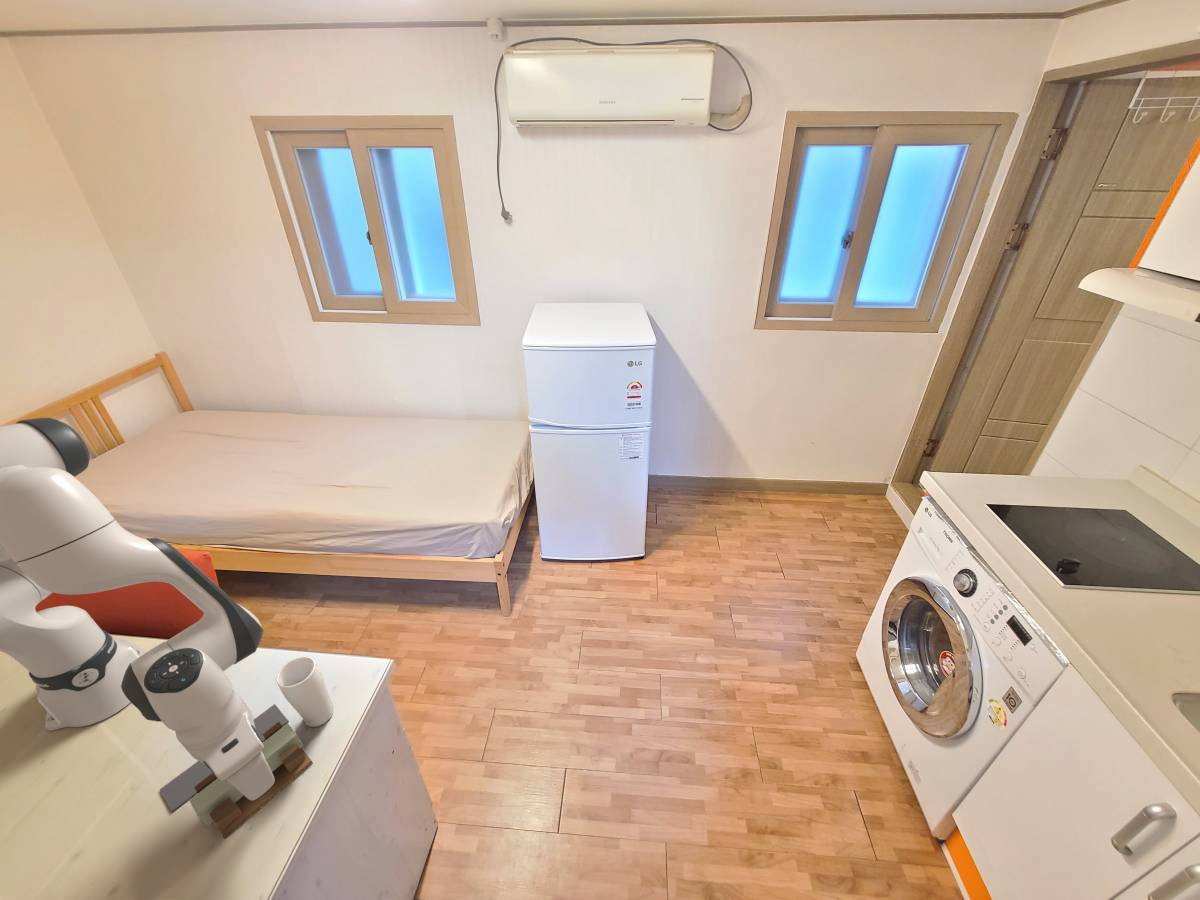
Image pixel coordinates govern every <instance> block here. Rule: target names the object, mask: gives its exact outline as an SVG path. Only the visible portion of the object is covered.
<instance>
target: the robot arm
mask: <svg viewBox="0 0 1200 900" xmlns="http://www.w3.org/2000/svg"><path fill="white" fill-rule="evenodd" d="M90 454H91V453H90V450H89V447H88V446H87V444H86V442H85V441H84V439H83V438H82V437H81V435H80V434H79V433H78V432H77V431H76V430H75V429H74V428H72V426H70V425H69V424H68V423H65V422H64V421H61V420H58V419H56V418H51V417H37V418H29V419H23V420H18V421H17V422H16V423H12V424H5V425H0V652H2V653H5V654H6V655H8V656H10V657H11V659H12V658H13V659H14V660H15V661H17V662H18V663H19V664H20V665H21V666H22V667H23V668H24V669H26V670H27V671H28V676H29V677H30V678H31V681H33V683H34V684H35V690H36V692H37V693H36V699H37V701H38V703H39V704H40V705H41V706H42V707H43V708H44V709H45V710H46V711H45V713H46V714H45V723H44V727H45V728H46V730H47V731H52V732H53V731H55V730H58V729H59V730H60V729H63V728H72V727H73V728H81V727H85V726H90V725H93V724H96V723H99V722H101V721H104V720H106V719H108V718H109V717H112V716H113V715H115V714H117V713H118V712H119V711H121V710H123V709H124V708H126V707H127V706H128V705H130V704H132V705H133V706H134V707H135V708H137V710H138V711H139V712H140V714H141V716H143V717H144V719H145V720H147V721H150V722H151V721H152V722H162V724H164V726H165V727H166V728H168V729H169V730H172V731H174V732H175V736H176V738H177V740H178V742H179V743H180V744H181V746H182V747H184V749H185V750H186V751H187V752H188V754H190V756H191V757H192V758H193V759H195V760H197V761H200V762H201V763H203V764H205V765H206V766H207V767H208V768H209V769H210V770H211V771H212V773H213V774H214V775H215V776H216V777H217V778H218V779H219V780H220V781H223V780H225V779H226V780H227V781H228V782H229V783H230V784H231V785H232V786H233V787H234V788H236V789H237V790H238V791H239V792H240V793H241V794H242V795H244V796H245V797H246V798H247V799H249V800H251V801H253V800H256V799H257V798H259V797H260V796H261V795H263V794H264V793H265V792H266V791H267V790H268V789H269V788H270V787H271V786H272V785H273V784H274V782H275V779H274V776H273V773H272V771H271V769H270V767H269V765H268V762H267V760H266V758H265V756H264V754H263V752H262V750H263V749H264V745H263V744H262V743H263V742H262V741H261V739H260V738H259V736H258V733H257V731H256V729H255V724H254V714H253V712H252V711H251V709H250V708H249V706H248V705H247V703H246V702H245V700H244V698H242V696H241V695H240V694H239V693H238V692H237V691H236V690H233V684H232V681H231V680H230V678H229V677H228V676H227V674H226V673H225V671H226V670H228V669H229V668H230V667H232V666H233V665H236V664H238V663H239V662H242V661H243V660H244V659H246V658H248V657H249V656H250V655H253V654H254V653H256V652H257V650H258V647H259V646H260V643H261V641H262V638H263V634H264V629H263V626H262V624H261V621H260V620H259V619H258V617H257V616H256V615H255V614H254V613H252V611H250V610H249V609H247V608H245V607H244V606H242V605H240V604H239V603H237V602H236V601H235V600H234V599H233V598H232V597H230V595H228V594H227V593H226V592H225V591H224V590H223V589H221V588H220V587H219V586H218V585H217V584H216V583H215V582H214V581H213V580H212V579H211V578H210V577H209V576H207V575H206V574H205V573H204V572H203V571H202V570H200V568H199V567H197V565H195V564H194V563H193V562H192V561H191V560H190V559H188V558H187V557H185V556H184V554H182V553H181V552H180V551H179V550H177V549H176V548H175V547H173V545H171V544H170V543H167V542H166V541H164V540H162V539H160V538H158V537H150V538H143V537H141V536H137V535H135V534H133V533H131V532H130V531H128V530H127V529H125V528H124V527H123V526H121V525H120V523H118V520H117V519H115V517H114V516H113V515H112V514H111V512H110V511H109V510H108V508H106V506H105V505H104V504H103V502H102V501H100V499H98V497H96V495H95V494H94V493H93V492H92V491H90V489H88V488H87V487H86V486H85V485H84V484H83V483H82V482H81V481H80V480H79V479H77V478H76V477H77V476H78V475H80V474H81V473H83V472H84V471H86V470H87V469H88V468H89V464H90V460H91V455H90ZM151 582H160V583H167V584H169V585H171V586H173V587H174V588H175V589H177V590H178V591H179V592H180V593H181V594H182V595H183V596H184V597H186V598H187V599H188V600H189V601H190V602H192V603H193V605H195V607H197V608H199V610H201V611H202V612H203V615H202V616H201V618H200V619H199V620H198V621H196V622H195V623H193V624H191V625H190V626H188V627H187V628H185V629H183V630H182V631H180V632H178V633H177V634H175V635H173V636H172V637H171V638H169V639H166V640H165V641H163V642H161V643H160V644H158V645H156V646H155V647H152V648H151V649H150V650H148V651H146V650H144V649H143V648H141V647H140V646H138V645H137V644H135V643H133V642H132V641H130V640H129V639H127V638H122V639H116V638H114V637H113V636H112V635H111V634H110V633H109V632H107V631H106V630H104V629H102V628H101V627H100V626H99V625H98V624H97V623H96V622H95V620H94V619H93V618H92V616H91V615H90V614H89V613H88V612H87V611H86V610H85V609H83V608H80V607H77V606H74V605H59V606H54V607H48V608H44V609H40V610H39V611H36V607H37V606H38V604H40V603H41V602H42V601H43V600H45V599H46V598H48V597H49V596H50V595H52V594H53V593H55V594H61V595H86V594H95V593H101V592H105V591H110V590H115V589H119V588H124V587H129V586H132V585H133V586H134V585H137V584H142V583H143V584H144V583H151Z"/></svg>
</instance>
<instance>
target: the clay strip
mask: <svg viewBox="0 0 1200 900" xmlns="http://www.w3.org/2000/svg"><path fill="white" fill-rule="evenodd" d="M295 743H296V744H297V745H298V746H299V748H303V747H304V744H303V742H302V741H301V740H300V737H299V736H298V734H297V733H296V732H295V730H294V729H293V728H292V727H291V725H290V724H289V722H288V723H286V724H285V725H284V726H283V727H282V728H281V729H280V730H278V731H277V732H276V733H275V734H273V735H272V736H271V737H270V738H268V739H267V740H265V741H263V742H262V744H263V745H264V749H263V750H262V752H263V754H264V756H265V758H266V760H267V762H268V765H269V767H270V769H271V771H272V772H273V771H274V770H275V769H276V768H277V767H279V766H280V765H281V764H282V763H283V762H282V761H281V759H280V758H279V756H281V755H282V754H283V753H284V752H285V751H287V750H288V749H289V748H290V747H292V746H293V745H294V744H295ZM243 796H244V795H242V794H241V793H240V792H239V791H238V790H237V789H236V788H234V787H233V786H232V785H231V784H230V783H229V782H228V781H227V780H226V779H225V780H223V781H220V780H219V779H218V778H217V779H216V780H215V781H213V782H212V783H211V784H210V785H208V786H207V787H206V788H204V789H203V790H202V791H201V792H199V793H197V794H195V795H194V796H193V797H192V798H190V799H189V800H188V802H190V804H191V807H192V808H193V810H194V812H195V814H196V816H197V817H198V818H199V819H200V820H201V821H203V824H205V825H206V826H209V825H211V824H212V822H214V820H213V819H212V818H211V816H210V813H211V812H212V811H213V810H215V809H216V808H217V807H218V806H219V805H221V804H222V803H223V802H224V801H226V800H227V799H228V798H229V797H230V798H231V800H232V801H233V802H234V803H235V802H237V801H238V800H239V799H240V798H241V797H243Z"/></svg>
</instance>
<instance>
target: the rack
mask: <svg viewBox="0 0 1200 900" xmlns="http://www.w3.org/2000/svg"><path fill="white" fill-rule="evenodd" d="M282 727H284V726H282V725H281V723H280V722H278V723H276V724H275V725H274V726H273V727H271V728H270V729H269V730H267V731H266V732H265V733H264V734H262V735H263V736H264V738H265V739H266V740H267V739H268V738H270V737H271V736H272V735H273V734H275V733H276V732H277V731H278V730H280V729H281V728H282ZM266 740H265V741H266ZM279 758H280V759H281V761H282V762H283V763H282V764H281V765H280V766H279V767H277V768H276V769H275V770H274V771H273V772H272V773H273V776H274V779H275V782H274V784H273V785H272V786H271V787H270V788H269V789H268V790H267V791H266V792H265V793H264V794H263V795H261V796H260V797H259V798H257V799H256V800H253V801H251V800H249V799H247V798H246V797H245V796H243V797H241V798H240V799H239V800H238V801H237V802H235V803H234V802H233V801H232V800H231V798H230V797H229V798H228V799H227V800H226V801H224V802H223V803H222V804H221V805H219V806H218V807H217V808H216V809H215V810H213V811H212V812H211V813H210V816H211V818H212V819H213V820H214V821H213V822H214V823H215V825H216V827H217V829H218V831H219V832H220V834H221V835H222V837H223V839H227V838H228V837H229V836H230V835H232V833H234V832H235V831H236V830H237V829H238V828H239V827H241V826H242V825H243V824H244V823H246V821H248V820H249V819H250V818H251V817H252V816H254V814H255V813H257V812H258V811H259V810H260V809H261V808H262V807H264V806H265V805H266V804H267V803H268V802H269V801H271V800H272V799H273V798H274V797H275V796H277V794H279V793H280V792H281V791H282V790H283V789H285V788H286V787H287V786H288V785H290V783H291V782H293V781H294V780H295V779H296V778H297V777H299V776H300V775H301V773H303V772H304V771H305V770H306V769H308V767H310V766H312V764H313V760H312V759H311V758H310V756H309V755H308V754H307V753H306V752H305V750H304V749H303V747H301V748H299V746H298V745H297V744H296V743H295V744H294V745H293V746H292V747H290V748H289V749H288V750H287V751H285V752H284V753H283V754H282V755H281V756H279ZM216 779H217V777H216V776H215V775H214V774H213V773H212V774H210V775H209V776H208V777H206V778H205V779H204V780H203V781H201V782H200V783H199V784H197V785H196V786H195V787H194V788H195V790H196V791H197V794H198V793H199V792H201V791H202V790H203V789H204V788H206V787H207V786H208V785H210V784H211V783H212V782H213V781H215V780H216Z"/></svg>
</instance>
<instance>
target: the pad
mask: <svg viewBox="0 0 1200 900" xmlns="http://www.w3.org/2000/svg"><path fill="white" fill-rule="evenodd" d="M253 720H254V724H255V729H256V731H257V733H258V736H259V738H260V739H261V741H262V743H263V742H264V741H266V739H265V738H264V736H263V735H262V734H264V733H265V732H266V731H267V730H269V729H270V728H271V727H273V726H274V725H275V724H276V723H278V722H280V723H281V725H282V726H283V727H284V726H285V725H286V724H287V723H288V724H289V720H288V718H287V717H286V716H285V714H283V712H282V711H281V709H280V708H279V707H278V706H277V705H276V704H275V703H274V704H272V706H270V707H268V708H267V709H266V710H264V711H263V712H262V713H261V714H260V715H258V716H256V718H253ZM210 774H212V771H211V770H210V769H209V768H208V767H207V766H206V765H205V764H203V763H201V762H200V761H198V760H197V761H196V762H195V763H193V764H192V765H190V766H189V767H188V768H187V769H185V770H184V771H182V772H181V773H180V774H178V775H177V776H176V777H174V778H173V779H172V780H170V781H169V782H168V783H167V784H166V785H164V786H162V787H161V788H160V789H159V790H160V792H161V794H162V796H163V798H164V800H165V802H166V804H167V806H168V808H169V811H170V812H171V813H174V812H175V811H176V810H177V809H179V808H181V807H182V806H183V805H184V804H186V803H187V802H189V800H190V799H192V798H193V797H194V796H195V795H197V794H198V793H197V791H196V790H195V788H194V787H195V786H196V785H197V784H199V783H200V782H201V781H203V780H204V779H205V778H206V777H208V776H209V775H210Z"/></svg>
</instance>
